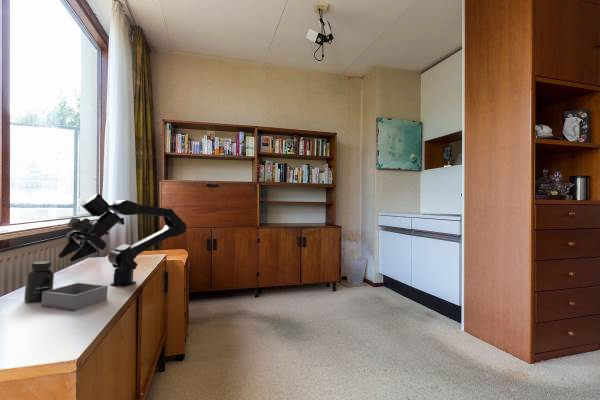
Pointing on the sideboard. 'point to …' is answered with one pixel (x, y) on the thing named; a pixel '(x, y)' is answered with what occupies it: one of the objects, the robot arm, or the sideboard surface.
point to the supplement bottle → (38, 281)
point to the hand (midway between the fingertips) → (64, 258)
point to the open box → (74, 296)
